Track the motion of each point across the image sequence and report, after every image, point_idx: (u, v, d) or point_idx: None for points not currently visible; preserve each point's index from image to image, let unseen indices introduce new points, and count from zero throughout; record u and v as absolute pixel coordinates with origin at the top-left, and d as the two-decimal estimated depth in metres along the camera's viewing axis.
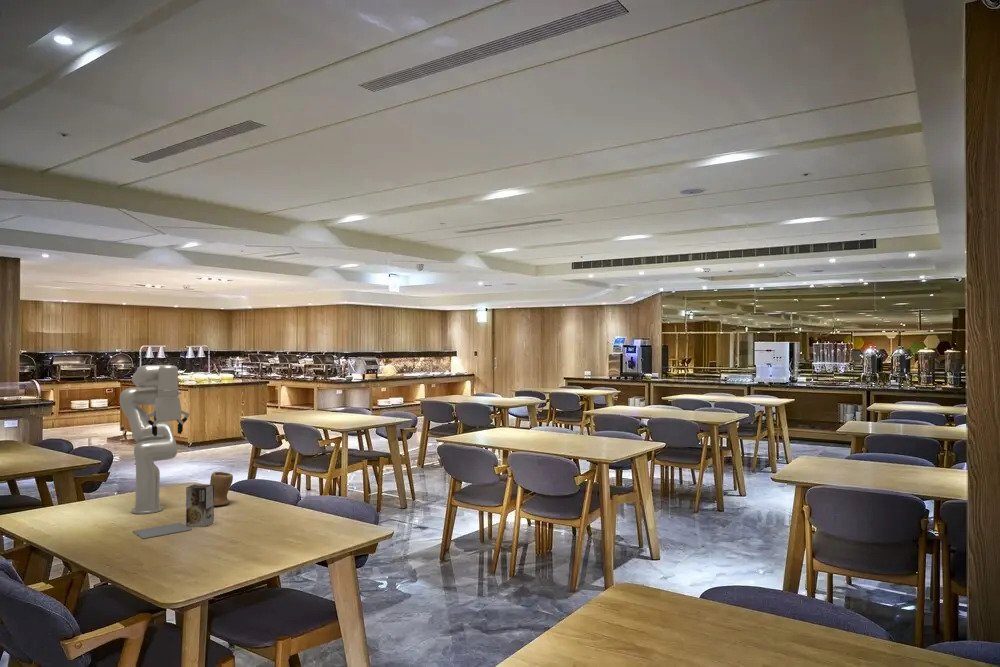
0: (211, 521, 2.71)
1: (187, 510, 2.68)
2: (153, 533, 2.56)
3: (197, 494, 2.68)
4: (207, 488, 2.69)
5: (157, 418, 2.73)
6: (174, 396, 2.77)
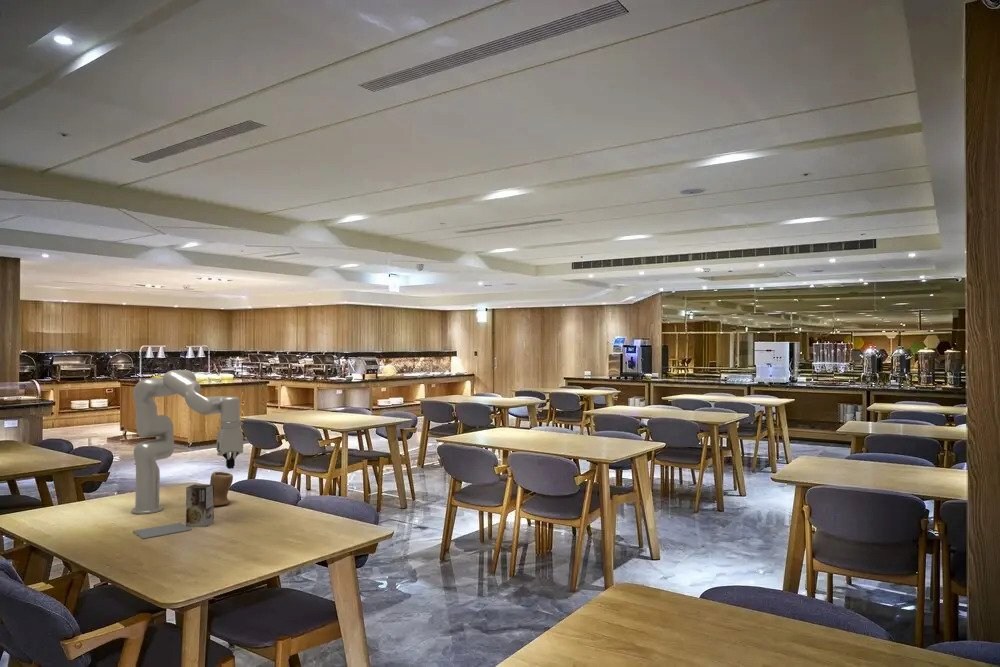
0: (211, 521, 2.71)
1: (187, 510, 2.68)
2: (153, 533, 2.56)
3: (197, 494, 2.68)
4: (207, 488, 2.69)
5: (221, 450, 2.75)
6: (237, 427, 2.79)
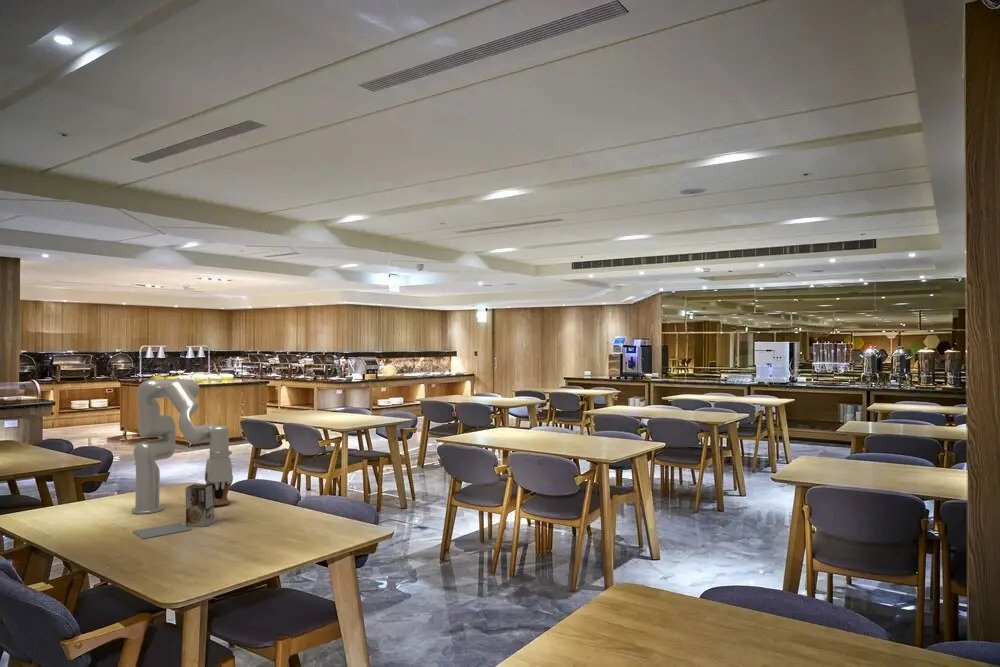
0: (211, 521, 2.71)
1: (187, 510, 2.68)
2: (153, 533, 2.56)
3: (197, 494, 2.68)
4: (206, 488, 2.68)
5: (209, 480, 2.72)
6: (226, 457, 2.76)
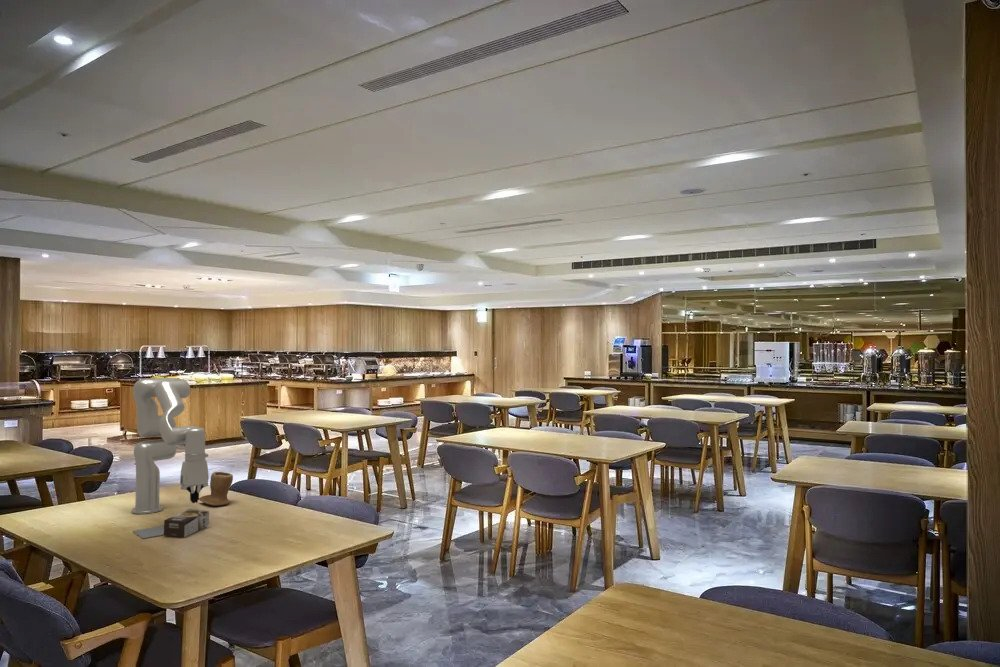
0: (207, 516, 2.66)
1: None
2: (153, 533, 2.56)
3: None
4: (185, 535, 2.52)
5: (184, 483, 2.65)
6: (202, 460, 2.69)
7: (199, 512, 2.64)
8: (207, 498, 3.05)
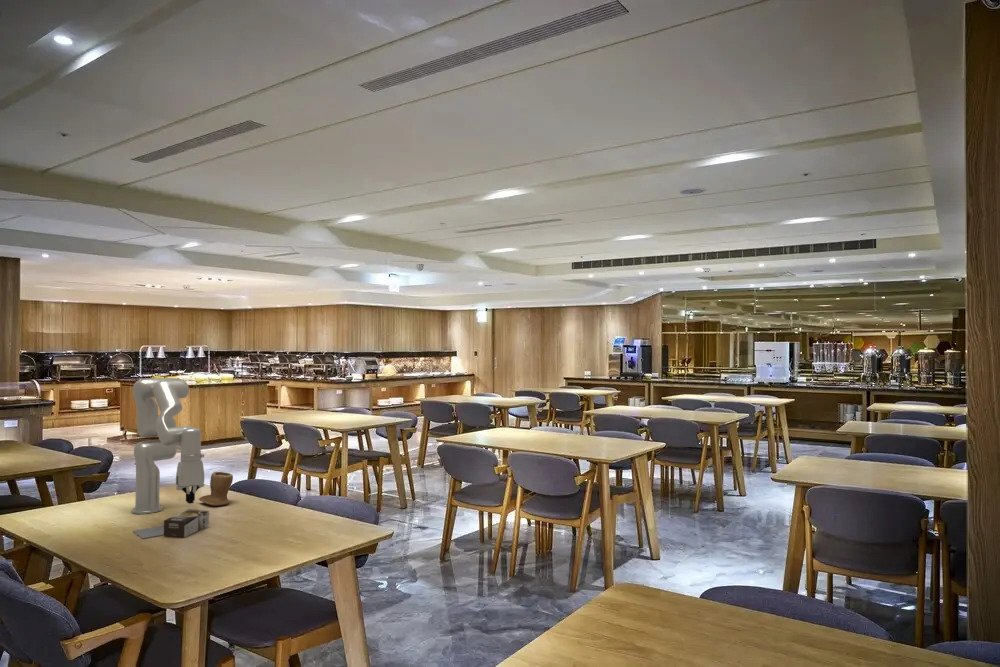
0: (207, 516, 2.66)
1: None
2: (153, 533, 2.56)
3: None
4: (185, 535, 2.52)
5: (180, 484, 2.64)
6: (197, 460, 2.68)
7: (199, 512, 2.64)
8: (207, 498, 3.05)
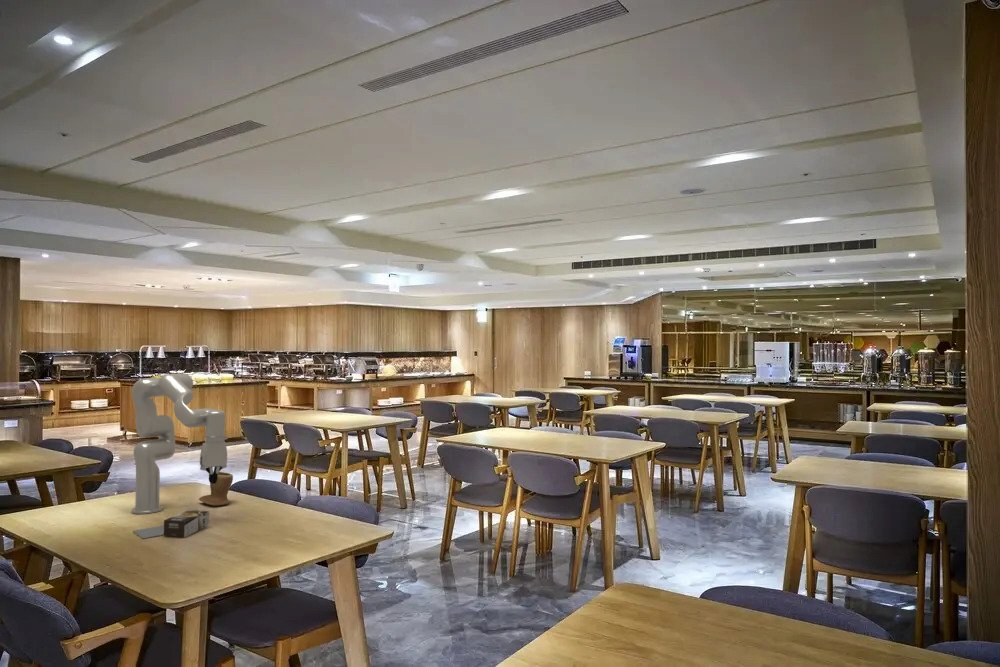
0: (207, 516, 2.66)
1: None
2: (153, 533, 2.56)
3: None
4: (185, 535, 2.52)
5: (204, 464, 2.71)
6: (221, 442, 2.75)
7: (199, 512, 2.64)
8: (207, 498, 3.05)
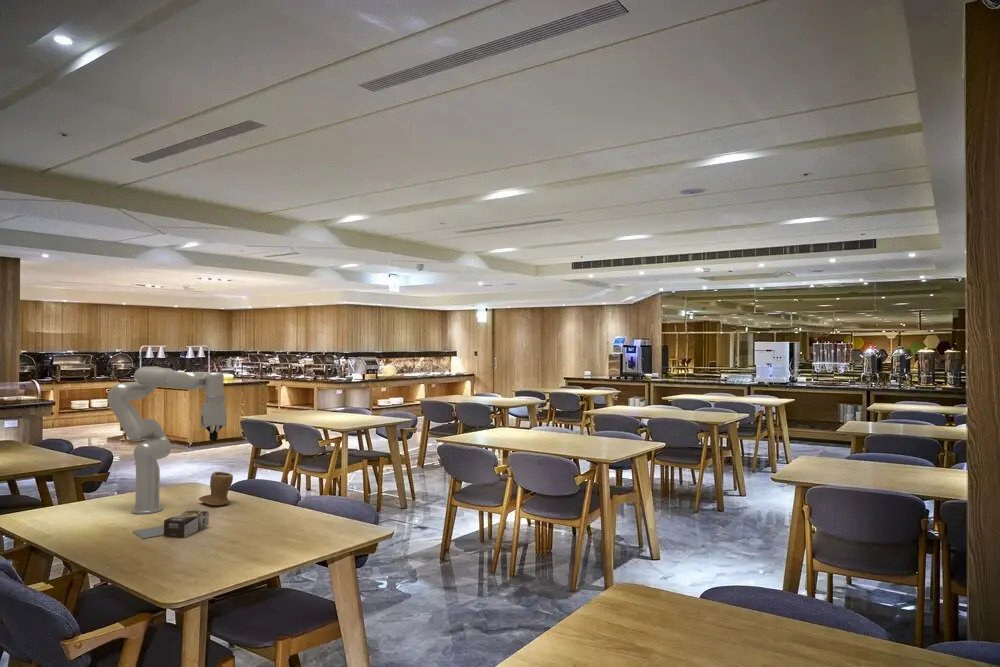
0: (207, 516, 2.66)
1: None
2: (153, 533, 2.56)
3: None
4: (185, 535, 2.52)
5: (204, 423, 2.87)
6: (220, 402, 2.90)
7: (199, 512, 2.64)
8: (207, 498, 3.05)
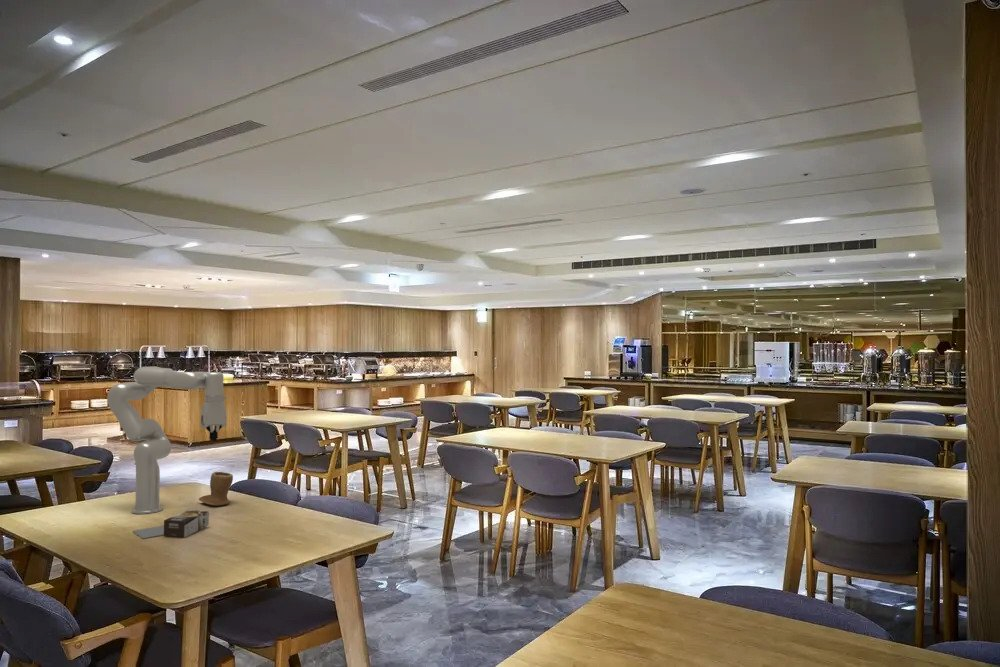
0: (207, 516, 2.66)
1: None
2: (153, 533, 2.56)
3: None
4: (185, 535, 2.52)
5: (204, 422, 2.87)
6: (220, 401, 2.90)
7: (199, 512, 2.64)
8: (207, 498, 3.05)
